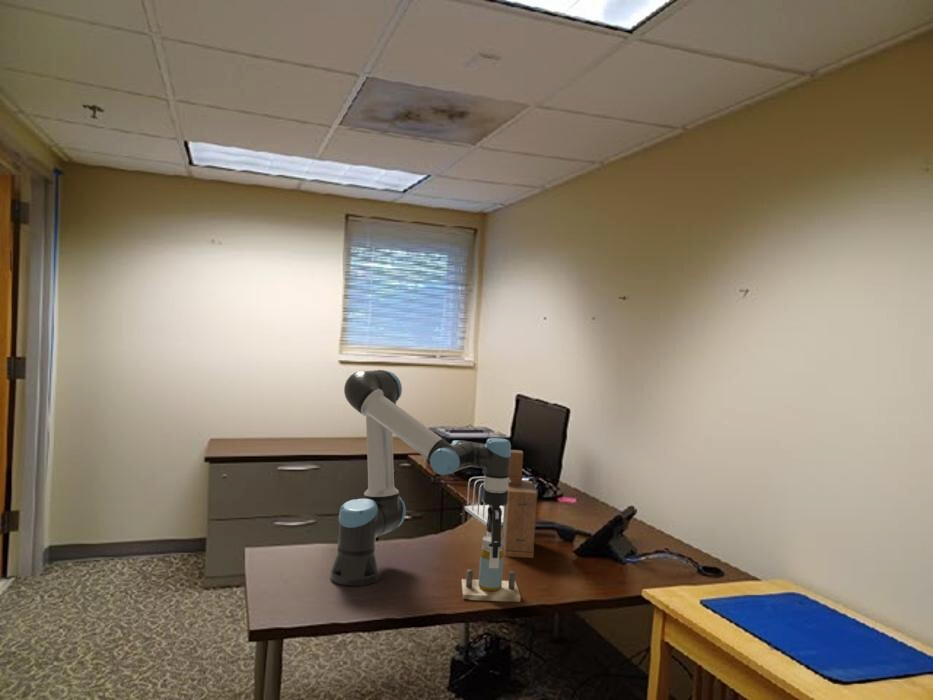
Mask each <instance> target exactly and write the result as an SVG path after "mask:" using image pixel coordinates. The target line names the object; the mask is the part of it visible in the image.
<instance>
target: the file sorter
mask: <svg viewBox="0 0 933 700" xmlns="http://www.w3.org/2000/svg"><path fill="white" fill-rule="evenodd" d="M473 479H477V480H476V481H475V482H474V485H473V491H472V492H473V495H472V505H469V504H470V503H469V501H470V499H469V498H470V484H471V481H472V480H473ZM480 481H481V482H482V481H483V483H481V484H480V486H479V488H478V501H477V505H475V493H476V486H477V485H476V484H477V483H478V482H480ZM482 486H484V476H473V477H470V478H469V479H468V484H467V498H466V501H467V502H466V504H467V505H466V506H464V510H465V512H467V513H468V514H469V515H471V516H473V517H474V518H475V519H476V520H478V522H480V523H482V524H483V525H484V526H486V525H487V519H488V507H489V504H486V503H484V502H483V504H482V505H481V504H480V501H481V499H480V498H481V491H482V490H481V489H482ZM500 508H501V510H502V515H501V527H503V518H504V505H501V506H500Z"/></svg>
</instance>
